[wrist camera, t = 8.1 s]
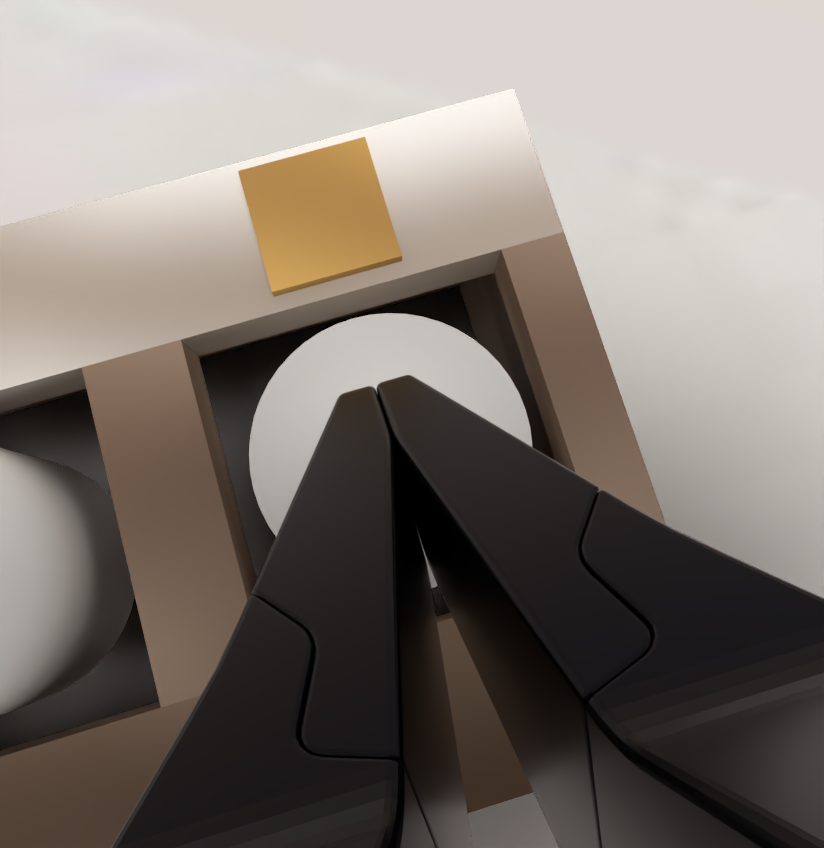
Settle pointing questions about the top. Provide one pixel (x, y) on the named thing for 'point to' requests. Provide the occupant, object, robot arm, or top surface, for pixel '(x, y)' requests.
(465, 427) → the robot arm
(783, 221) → the top surface
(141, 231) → the brown compartment box
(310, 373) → the button
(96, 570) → the middle button
